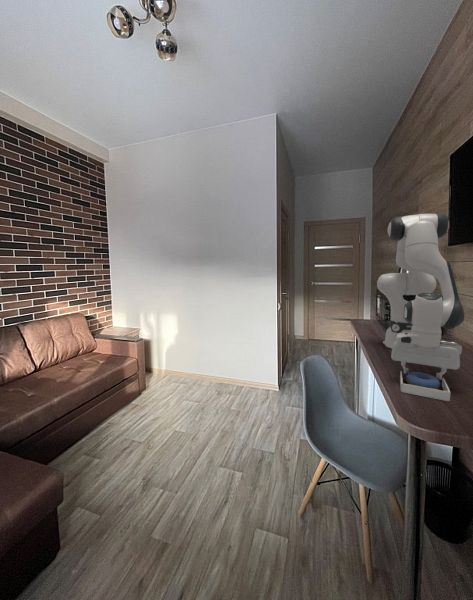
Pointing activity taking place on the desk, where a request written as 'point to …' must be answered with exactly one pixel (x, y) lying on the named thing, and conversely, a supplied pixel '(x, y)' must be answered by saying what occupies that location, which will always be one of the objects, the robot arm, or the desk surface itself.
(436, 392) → the box
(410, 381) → the doughnut
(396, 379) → the desk surface
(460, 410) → the desk surface
